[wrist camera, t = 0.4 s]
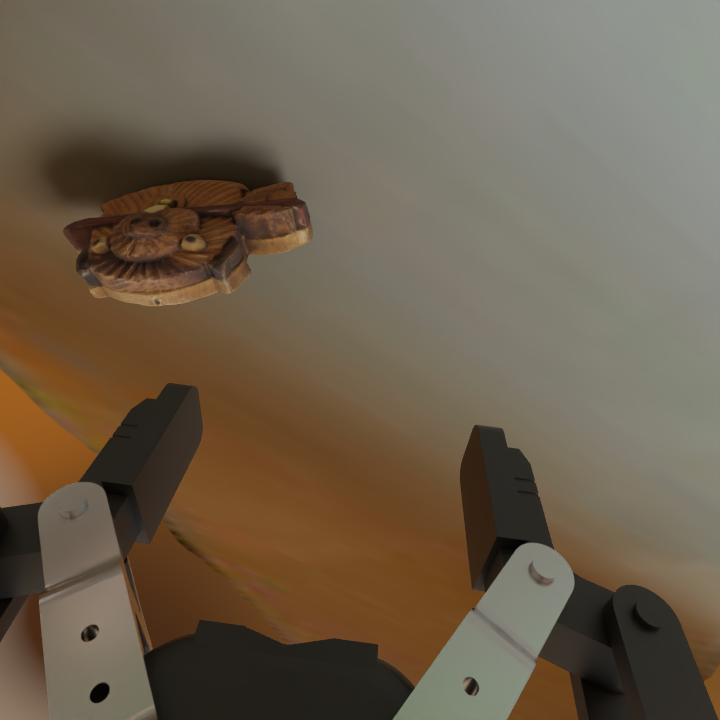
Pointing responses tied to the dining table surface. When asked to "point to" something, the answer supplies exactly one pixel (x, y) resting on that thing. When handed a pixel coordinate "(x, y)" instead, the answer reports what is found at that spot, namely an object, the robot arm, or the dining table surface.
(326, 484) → the dining table surface
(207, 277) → the wooden carving
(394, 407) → the dining table surface
